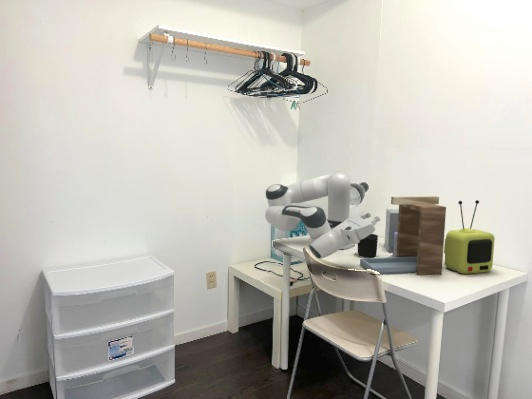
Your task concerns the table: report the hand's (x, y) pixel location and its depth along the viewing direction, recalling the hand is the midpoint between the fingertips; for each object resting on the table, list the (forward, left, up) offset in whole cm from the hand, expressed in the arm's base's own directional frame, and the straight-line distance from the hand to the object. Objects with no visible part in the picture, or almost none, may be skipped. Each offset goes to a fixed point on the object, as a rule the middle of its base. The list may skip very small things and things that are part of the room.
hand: (374, 216), depth 168 cm
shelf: (0, +21, -23) cm, 31 cm away
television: (+3, +41, -23) cm, 47 cm away
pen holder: (-22, +7, -23) cm, 33 cm away
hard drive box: (-33, +26, -23) cm, 48 cm away
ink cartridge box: (-15, +22, -23) cm, 35 cm away
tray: (0, +11, -23) cm, 26 cm away
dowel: (0, +18, +5) cm, 19 cm away
